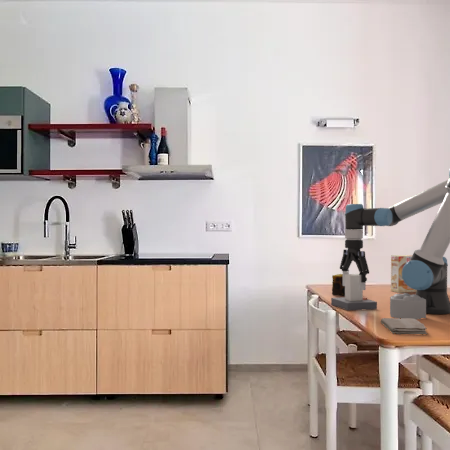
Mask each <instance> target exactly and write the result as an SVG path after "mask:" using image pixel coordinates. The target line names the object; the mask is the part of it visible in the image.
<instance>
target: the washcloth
mask: <svg viewBox="0 0 450 450" xmlns="http://www.w3.org/2000/svg"><path fill="white" fill-rule="evenodd" d="M380 323H381V325H383V324H384V325H383V326H384V328H386V329H387V328H388V329H389V330H390V331H391V332H392V333H393V334H392V333H391V332H390V331H389V330H388V329H387V330H388V331H389V332H390V333H391V334H392V335H401V334H427V335H428V333H427V331H426V330H427V327H426V326H425V324H424V323H421V321H419V320H418V319H414V318H413V319H412V318H401V319H400V318H393V317H389V318H388V317H382V318H381V319H380ZM394 333H396V334H394Z"/></svg>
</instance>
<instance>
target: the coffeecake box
mask: <svg viewBox="0 0 450 450" xmlns="http://www.w3.org/2000/svg"><path fill="white" fill-rule="evenodd" d="M412 255H413V254H408V255H406V254H399V255H398V254H397V255H393V254H392V255H391V256H390V291H391V292H394V293H396V294H404V293H416V291H417V290H415V289H412V288H410V287H409V286H407V285H406V283H405V282H404V280H403V278H402V269H403V267H404V265H405V264H406V263H407V262H409V261H410V259H411V257H412Z"/></svg>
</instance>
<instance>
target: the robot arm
mask: <svg viewBox="0 0 450 450" xmlns="http://www.w3.org/2000/svg"><path fill="white" fill-rule="evenodd" d="M448 177H449V178H448V179H447V180H445V181H443V182H440V183H438V184H436V185H434V186H432V187H430V188H427V189H426V190H423V191H421V192H419V193H417V194H415V195H413V196H411V197H409V198H406V199H403V200H402V201H399V202H398V203H396V204H394V205H391V206H389V207H375V208H374V207H373V208H372V207H371V208H364V205H363V204H362V203H350V204H349V203H348V204H346V206H345V211H344V212H345V214H344V217H345V218H344V220H345V226H344V227H345V228H344V239H345V241H344V248H345V249H343V251H342V258H341V261H340V264H339V269H340V270H341V272H342V274H343V286H345V274H350V270H349V268H350V267H351V265H352V263H353V262H354V263H355V264H356V267H357V269H358V272H359V273H358V274H359V290H363V291H366V286H367V285H366V284H367V283H366V282H367V281H366V278H367V277H366V276H367V275H368V274H370V270H369V266H368V261H367V259H366V252H365V250H362V251H361V249H363V247H364V241H363V239H364V232H363V231H364V227H370V226H371V227H393V226H396V225H397V224H399V222H401V221H403V220H406V219H409V218H410V217H413V216H415V215H417V214H419V213H422V212H424V211H427V210H428V209H432V208H434V207H437V206H438V205H440V207H439V208H438V211H437V213H436V214H435V215H436V216H435V217H434V219H433V221H432V223H431V226H430V227H429V230H428V232H427V234H426V236H425V238H424V240H423V242H422V244H421V247H420V248H419V249H416V250H414V251H413V253H412V254H411V255H412V257H411V259H410V261H409V262H407V263H406V264H405V265H404V267H403V269H402V278H403V280H404V282H405V283H406V285H407V286H409V287H410V288H412V289H415V290H417V291H416V292H415V295H418V296H420V297H421V298H424V299H426V314H432V315H446V314H447V315H449V314H450V298H449V295H448V265H449V264H448V259H447V257H446V256H445V255H446V254H445V253H446V252H447V249H448V248H449V246H450V169H449V171H448Z"/></svg>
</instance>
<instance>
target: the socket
mask: <svg viewBox="0 0 450 450" xmlns="http://www.w3.org/2000/svg"><path fill="white" fill-rule="evenodd" d="M330 301H331V302H330V303H331V305H332V306H335V307H336V308H340V309H343V310H346V311H360V310H361V311H362V309H366V310H377V309H378V302H377V301H375V300H371V299H368V297H366V296H363V300H361V301H349V300H346V299H345V296H341V297H340V296H339V297H331V299H330Z"/></svg>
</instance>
